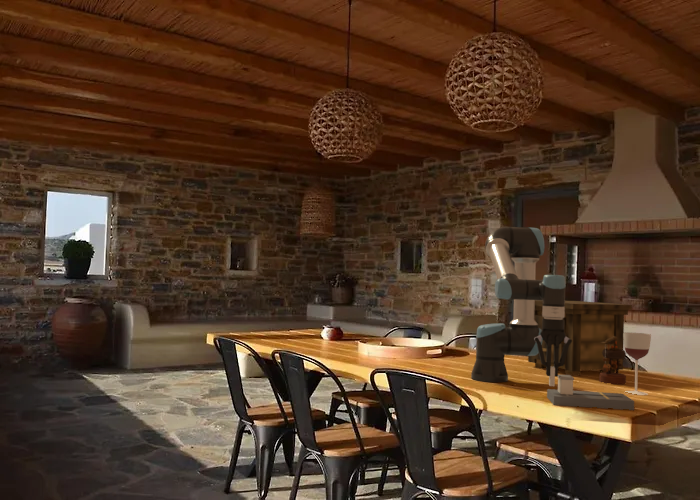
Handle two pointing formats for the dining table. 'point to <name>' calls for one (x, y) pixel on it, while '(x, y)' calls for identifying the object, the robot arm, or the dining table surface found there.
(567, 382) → the fader tab
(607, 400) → the fader console
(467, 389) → the dining table surface
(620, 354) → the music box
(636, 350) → the wineglass
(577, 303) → the wooden cabinet
